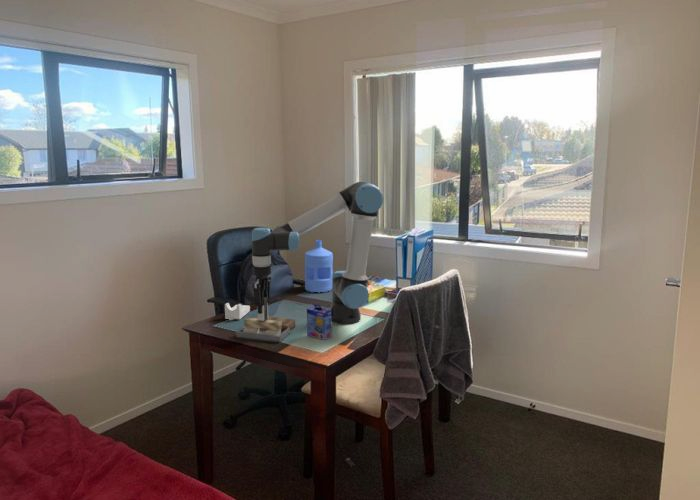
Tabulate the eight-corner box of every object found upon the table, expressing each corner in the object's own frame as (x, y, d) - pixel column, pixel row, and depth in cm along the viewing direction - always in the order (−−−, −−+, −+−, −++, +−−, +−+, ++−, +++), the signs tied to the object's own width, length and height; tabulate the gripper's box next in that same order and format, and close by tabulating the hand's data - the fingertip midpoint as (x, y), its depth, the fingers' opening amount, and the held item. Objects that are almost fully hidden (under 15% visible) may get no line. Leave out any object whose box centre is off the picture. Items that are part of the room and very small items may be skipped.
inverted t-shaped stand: (281, 327, 228) (281, 298, 225) (279, 330, 225) (278, 300, 222) (247, 324, 232) (246, 295, 229) (244, 326, 229) (243, 297, 227)
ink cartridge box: (306, 335, 230) (305, 303, 227) (314, 332, 234) (314, 300, 231) (324, 340, 224) (324, 307, 221) (332, 336, 229) (332, 304, 226)
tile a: (280, 334, 229) (280, 328, 229) (276, 338, 225) (276, 332, 224) (270, 333, 231) (270, 327, 230) (265, 337, 226) (265, 331, 225)
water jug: (309, 285, 311) (309, 237, 305) (335, 286, 307) (336, 238, 302) (301, 292, 296) (300, 242, 290) (328, 294, 292) (328, 243, 287)
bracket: (239, 321, 248) (239, 305, 247) (225, 320, 249) (224, 304, 248) (250, 312, 261) (249, 297, 259) (236, 311, 262) (235, 296, 260)
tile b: (259, 332, 231) (259, 327, 231) (254, 336, 226) (254, 330, 226) (248, 331, 232) (248, 325, 232) (243, 335, 228) (243, 329, 227)
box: (289, 333, 232) (289, 328, 231) (280, 342, 221) (279, 337, 221) (247, 329, 237) (247, 323, 236) (236, 337, 226) (235, 332, 226)
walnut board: (295, 326, 240) (295, 319, 240) (287, 333, 232) (287, 325, 231) (258, 322, 245) (258, 315, 244) (249, 329, 237) (249, 321, 236)
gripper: (261, 260, 232) (262, 312, 236) (244, 268, 216) (246, 324, 221) (277, 261, 230) (278, 314, 234) (261, 270, 214) (263, 325, 219)
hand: (262, 318), depth 228 cm, fingers closed on inverted t-shaped stand, 3 cm apart
